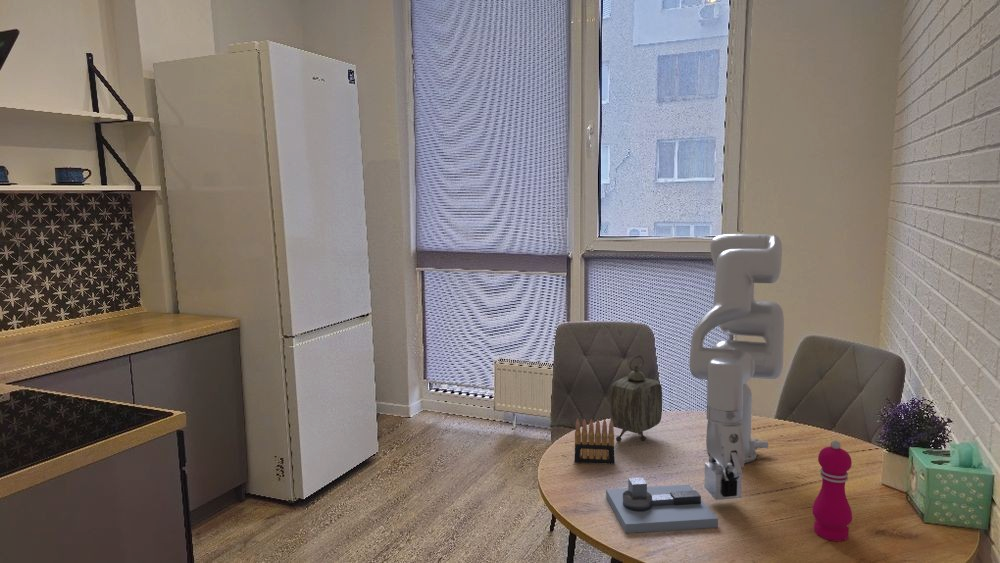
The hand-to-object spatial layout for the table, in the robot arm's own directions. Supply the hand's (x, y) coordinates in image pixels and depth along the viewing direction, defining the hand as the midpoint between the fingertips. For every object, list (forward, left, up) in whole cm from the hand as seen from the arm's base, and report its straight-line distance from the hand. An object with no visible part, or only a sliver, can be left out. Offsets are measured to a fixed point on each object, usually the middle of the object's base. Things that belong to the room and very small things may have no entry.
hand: (722, 487), depth 140 cm
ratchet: (+15, +2, -2) cm, 15 cm away
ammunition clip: (+23, -26, -4) cm, 35 cm away
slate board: (+15, +2, -4) cm, 16 cm away
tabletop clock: (+7, -40, -4) cm, 41 cm away
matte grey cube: (0, 0, -1) cm, 1 cm away
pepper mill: (-17, +15, -4) cm, 23 cm away
